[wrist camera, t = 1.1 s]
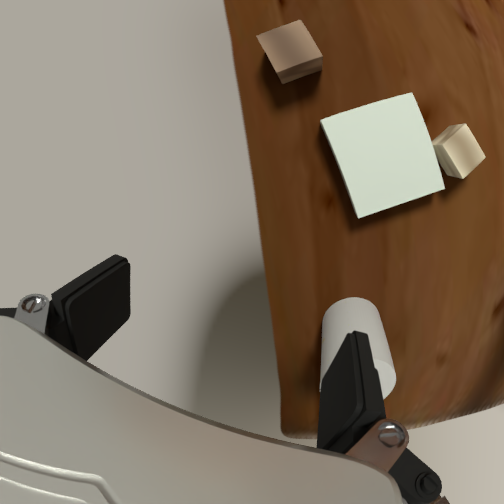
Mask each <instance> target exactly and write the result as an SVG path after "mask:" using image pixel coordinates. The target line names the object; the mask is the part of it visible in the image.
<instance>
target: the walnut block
mask: <svg viewBox="0 0 504 504" xmlns="http://www.w3.org/2000/svg"><path fill="white" fill-rule="evenodd" d="M256 37H257V38H258V40H259V42H260V43H261V45H262V47H263V49H264V51H265V52H266V54H267V56H268V58H269V60H270V62H271V63H272V65H273V67H274V69H275V71H276V73H277V75H278V77H279V79H280V80H281V82H282V84H285V83H287V82H290V81H293V80H295V79H298V78H301V77H303V76H306V75H309V74H312V73H315V72H318V71H321V70H322V60H323V56H322V54H321V52H320V51H319V49H318V47H317V45H316V44H315V42H314V40H313V39H312V37H311V35H310V34H309V32H308V31H307V29H306V27H305V26H304V24H303V23H302V21H301V20H298V21H295V22H292V23H289V24H286V25H283V26H281V27H278V28H275V29H273V30H270V31H268V32H265V33H263V34H260V35H258V36H256Z"/></svg>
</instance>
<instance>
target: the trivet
mask: <svg viewBox="0 0 504 504" xmlns="http://www.w3.org/2000/svg"><path fill="white" fill-rule="evenodd" d="M320 124H321V126H322V129H323V131H324V133H325V136H326V138H327V140H328V143H329V145H330V147H331V150H332V152H333V155H334V157H335V160H336V162H337V165H338V167H339V170H340V173H341V175H342V178H343V181H344V183H345V186H346V189H347V192H348V195H349V197H350V200H351V203H352V206H353V209H354V212H355V214H356V216H357V217H358V218H361V217H364V216H367V215H370V214H373V213H376V212H378V211H381V210H384V209H387V208H390V207H393V206H396V205H399V204H402V203H405V202H408V201H411V200H413V199H416V198H419V197H422V196H425V195H428V194H431V193H434V192H437V191H440V190H443V189H445V187H444V183H443V179H442V175H441V172H440V168H439V165H438V161H437V158H436V155H435V151H434V148H433V145H432V142H431V139H430V136H429V134H428V131H427V128H426V125H425V123H424V120H423V117H422V115H421V112H420V110H419V107H418V105H417V103H416V100H415V98H414V96H413V94H412V93H408V94H404V95H400V96H396V97H392V98H389V99H385V100H382V101H378V102H375V103H371V104H368V105H365V106H361V107H358V108H355V109H352V110H349V111H346V112H343V113H340V114H337V115H334V116H331V117H328V118H325V119H322V120H321V121H320Z"/></svg>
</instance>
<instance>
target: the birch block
mask: <svg viewBox="0 0 504 504" xmlns="http://www.w3.org/2000/svg"><path fill="white" fill-rule="evenodd" d="M432 145H433V148H434V151H435V155H436V158H437V160H438V161H439V163H440V165H441V166H442V168H443V169H444V171H445V173H446V174H447V175H448V176H453V177H457V178H461V179H464V178H465V177H466V176H467V175H468V174H469V173H470V172H471V171H472V170H473V169H474V168H475V167H476V166H477V165H478V164H479V163H480V162H481V161H482V160H483V159H484V158H485V155H484V153H483V152H482V150H481V148H480V146H479V145H478V143H477V141H476V139H475V138H474V136H473V134H472V133H471V131H470V129H469V128H468V126H467V125H466V124H459V125H452V126H449V127H448V128H447V129H446V130H444V131H443V132H442V133H441V134H440V135H439V136H438V137H437V138H435V139H434V140H433V141H432Z"/></svg>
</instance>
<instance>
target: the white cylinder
mask: <svg viewBox="0 0 504 504" xmlns="http://www.w3.org/2000/svg"><path fill="white" fill-rule="evenodd" d="M354 330H355V331H359V332H363V333H367V334H368V337H369V342H370V347H371V351H372V356H373V361H374V366H375V368H376V369H377V370H378V373H379V378H380V384H381V389H382V395H383V399H384V398H385V397H387V396H388V395H389V394H390V392H391V391H392V390H393V388H394V386H395V383H396V374H395V370H394V366H393V362H392V358H391V354H390V350H389V346H388V343H387V339H386V336H385V332H384V329H383V325H382V322H381V319H380V315H379V312H378V310H377V308H376V307H375V306H374V305H373V304H372V303H371V302H370V301H368V300H366V299H362V298H356V297H352V298H346V299H342V300H340V301H338V302H336V303H335V304H333V305H332V306H331V307H330V308H329V309H328V310H327V311H326V313H325V315H324V317H323V322H322V354H321V376H320V388H321V382H322V379H323V377H324V375H325V373H326V372H327V370H328V368H329V366H330V365H331V363H332V361H333V359H334V357H335V356H336V354H337V352H338V350H339V348H340V346H341V344H342V342H343V341H344V339H345V337H346V335H347V333H352V332H353V331H354Z"/></svg>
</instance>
